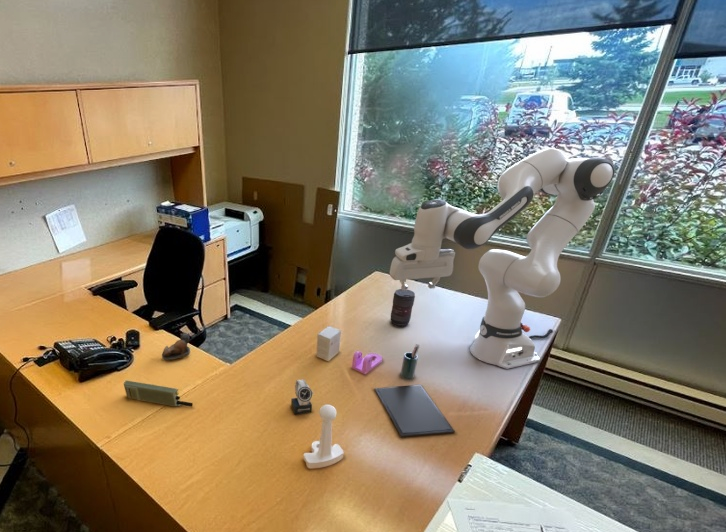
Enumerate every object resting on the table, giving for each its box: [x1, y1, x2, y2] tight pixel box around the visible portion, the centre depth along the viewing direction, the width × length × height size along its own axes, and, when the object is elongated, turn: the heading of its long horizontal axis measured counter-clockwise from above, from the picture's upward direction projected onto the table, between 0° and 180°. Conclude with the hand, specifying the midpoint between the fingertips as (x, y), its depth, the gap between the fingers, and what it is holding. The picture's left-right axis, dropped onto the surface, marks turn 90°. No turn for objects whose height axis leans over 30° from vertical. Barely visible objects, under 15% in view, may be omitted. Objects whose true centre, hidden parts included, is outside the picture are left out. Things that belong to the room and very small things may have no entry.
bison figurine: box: [161, 332, 191, 361], centre depth 165 cm, size 12×7×10 cm, turn 106°
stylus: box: [410, 343, 421, 359], centre depth 143 cm, size 1×1×15 cm
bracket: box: [351, 350, 383, 375], centre depth 153 cm, size 13×6×7 cm, turn 130°
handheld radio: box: [123, 380, 194, 408], centre depth 143 cm, size 7×3×25 cm
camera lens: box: [390, 288, 416, 328], centre depth 175 cm, size 8×8×15 cm
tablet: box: [374, 384, 455, 438], centre depth 133 cm, size 16×22×1 cm
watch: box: [290, 379, 314, 415], centre depth 134 cm, size 6×8×11 cm
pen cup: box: [400, 351, 419, 380], centre depth 146 cm, size 4×4×9 cm
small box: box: [315, 325, 342, 362], centre depth 160 cm, size 8×6×10 cm
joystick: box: [302, 404, 345, 469], centre depth 114 cm, size 11×8×20 cm
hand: (417, 288), depth 143 cm, fingers open, 8 cm apart
